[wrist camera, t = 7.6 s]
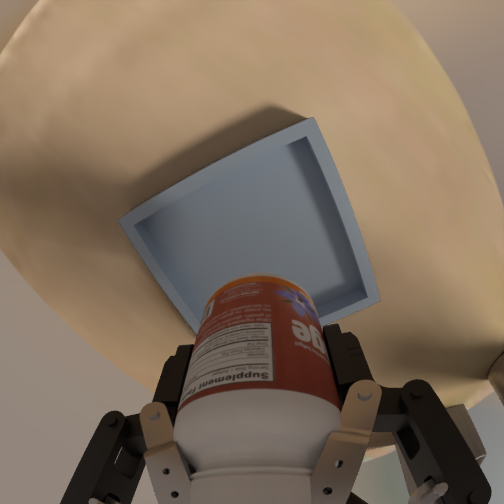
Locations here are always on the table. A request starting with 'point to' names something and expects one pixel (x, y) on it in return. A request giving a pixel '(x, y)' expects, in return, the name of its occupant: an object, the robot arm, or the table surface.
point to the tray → (258, 227)
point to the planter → (468, 433)
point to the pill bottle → (257, 395)
